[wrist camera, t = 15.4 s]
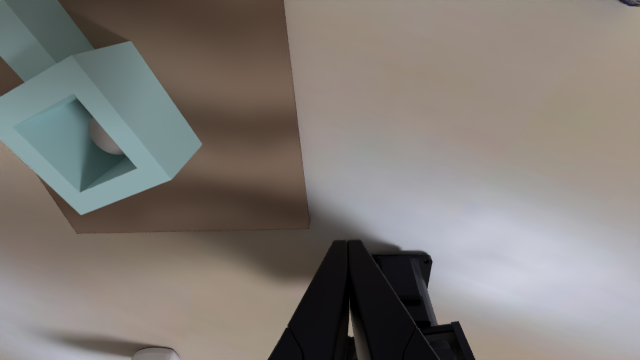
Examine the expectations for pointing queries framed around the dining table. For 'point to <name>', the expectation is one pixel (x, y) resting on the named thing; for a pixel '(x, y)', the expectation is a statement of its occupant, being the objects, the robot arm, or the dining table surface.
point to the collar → (72, 118)
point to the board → (204, 114)
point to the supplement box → (632, 2)
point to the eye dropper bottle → (155, 354)
